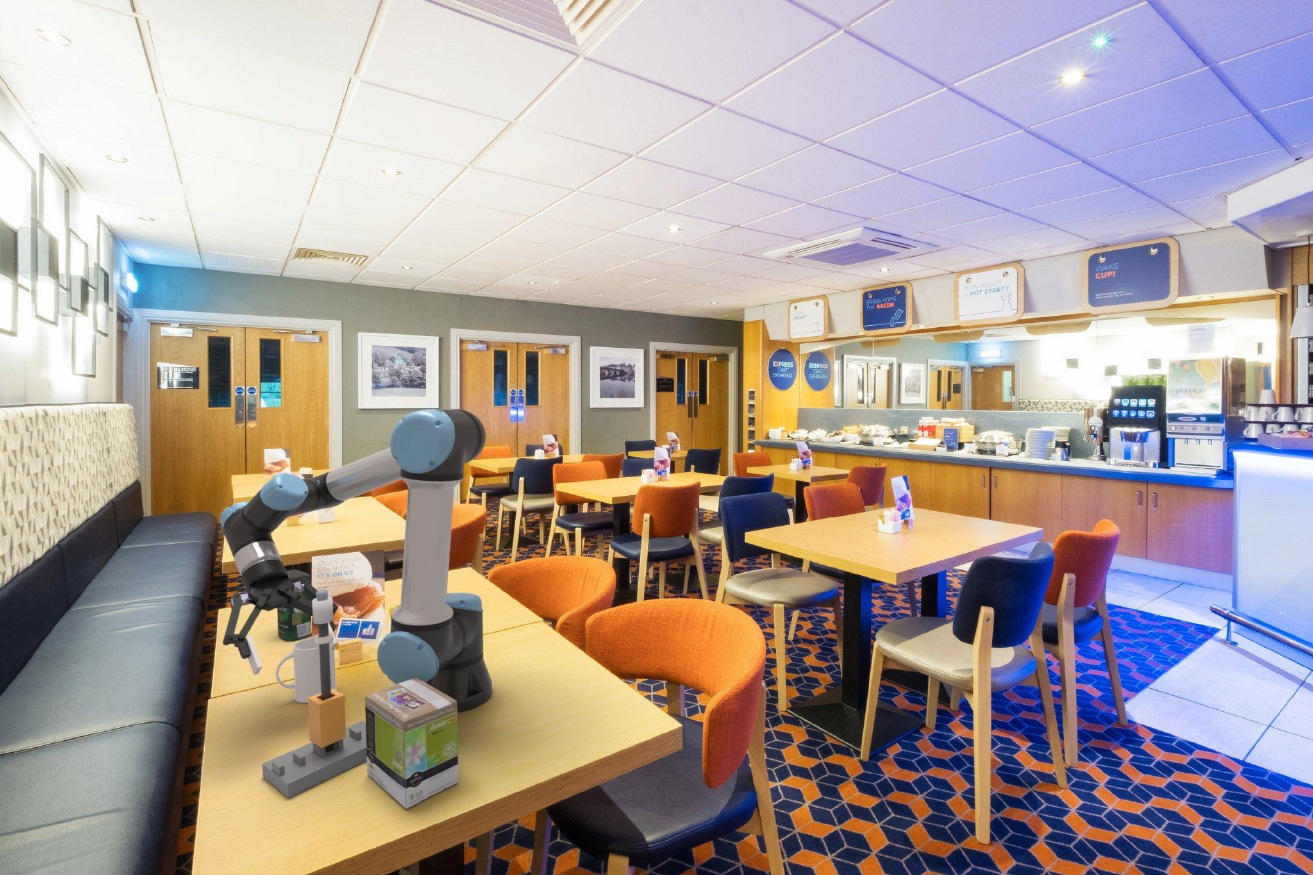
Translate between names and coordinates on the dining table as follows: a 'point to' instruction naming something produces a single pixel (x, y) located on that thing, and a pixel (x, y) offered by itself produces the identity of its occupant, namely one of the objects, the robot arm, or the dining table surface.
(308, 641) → the mug
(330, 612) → the rod stand with pegs
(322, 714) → the marker sleeve
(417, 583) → the robot arm
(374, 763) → the tea box
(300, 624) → the coffee jar
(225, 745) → the dining table surface
